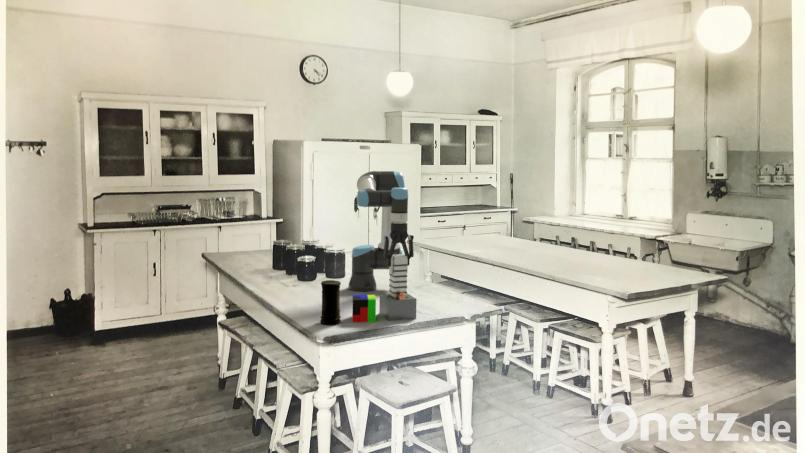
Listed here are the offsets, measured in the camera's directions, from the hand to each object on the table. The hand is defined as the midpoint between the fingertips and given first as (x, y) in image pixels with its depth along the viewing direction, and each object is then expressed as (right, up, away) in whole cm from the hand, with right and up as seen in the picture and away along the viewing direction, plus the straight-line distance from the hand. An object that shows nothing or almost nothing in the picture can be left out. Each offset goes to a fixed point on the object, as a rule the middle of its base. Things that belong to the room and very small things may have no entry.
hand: (398, 273), depth 297 cm
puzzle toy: (-15, -20, -4) cm, 26 cm away
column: (0, -12, +1) cm, 12 cm away
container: (-29, -21, -11) cm, 38 cm away
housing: (0, -20, +2) cm, 20 cm away
